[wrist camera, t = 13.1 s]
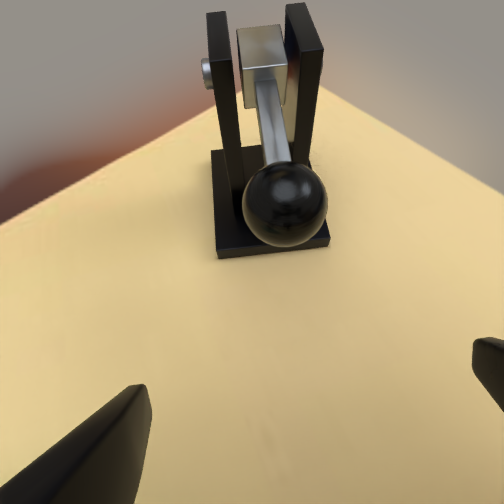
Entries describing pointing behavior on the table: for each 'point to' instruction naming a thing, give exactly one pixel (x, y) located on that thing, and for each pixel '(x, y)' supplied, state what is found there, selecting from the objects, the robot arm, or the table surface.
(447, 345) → the table surface
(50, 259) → the table surface
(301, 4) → the lever bracket
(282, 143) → the ball knob lever
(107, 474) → the robot arm
